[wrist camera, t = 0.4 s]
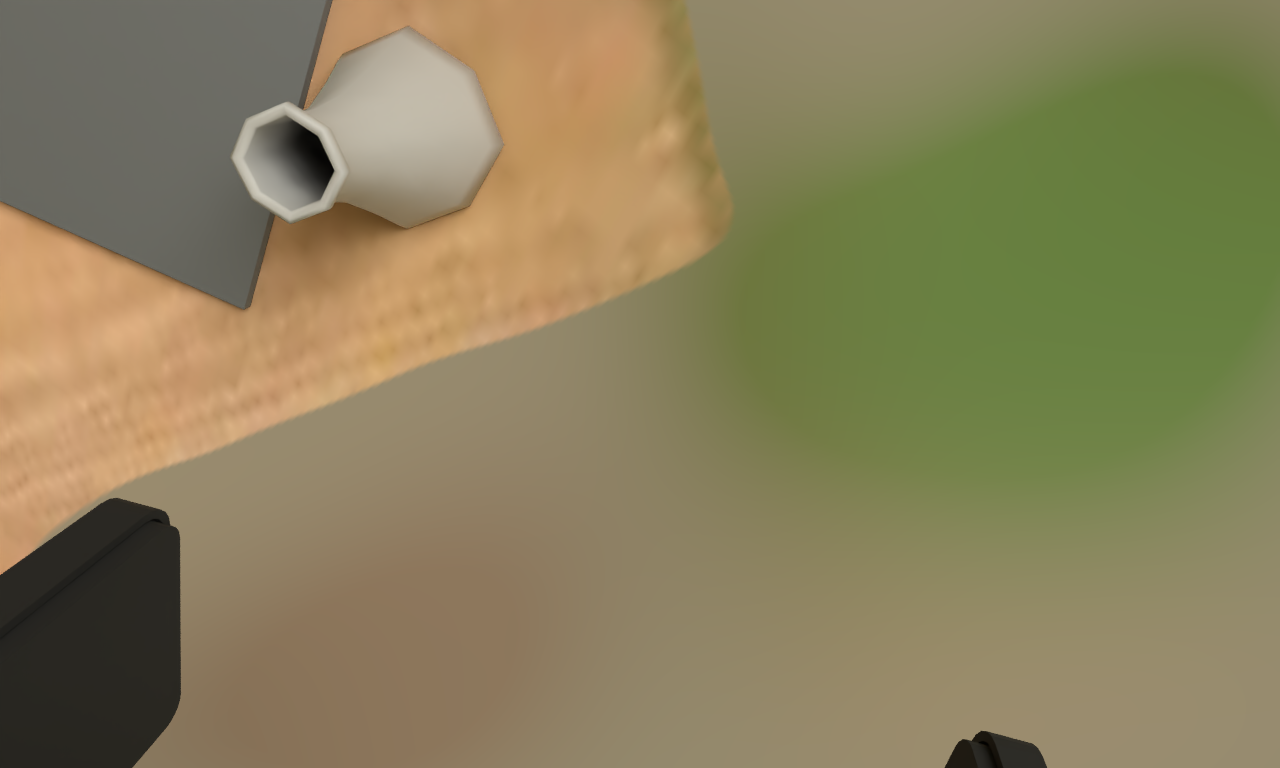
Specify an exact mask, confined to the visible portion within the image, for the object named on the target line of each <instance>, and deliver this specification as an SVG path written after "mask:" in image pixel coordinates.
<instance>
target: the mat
mask: <svg viewBox="0 0 1280 768" xmlns="http://www.w3.org/2000/svg"><path fill="white" fill-rule="evenodd" d="M331 3H332V0H0V201H1V202H4V203H6V204H8V205H10V206H13V207H15V208H17V209H19V210H22V211H24V212H26V213H28V214H30V215H33V216H35V217H37V218H39V219H42V220H44V221H46V222H48V223H51V224H53V225H55V226H57V227H60V228H62V229H64V230H66V231H69V232H71V233H73V234H75V235H78V236H80V237H82V238H84V239H87V240H89V241H91V242H93V243H96V244H98V245H100V246H102V247H105V248H107V249H109V250H111V251H113V252H116V253H118V254H120V255H122V256H125V257H127V258H129V259H131V260H134V261H136V262H138V263H140V264H143V265H145V266H147V267H149V268H152V269H154V270H156V271H158V272H161V273H163V274H165V275H167V276H170V277H172V278H174V279H176V280H179V281H181V282H183V283H185V284H188V285H190V286H192V287H194V288H196V289H199V290H201V291H203V292H205V293H208V294H210V295H212V296H214V297H217V298H219V299H221V300H223V301H226V302H228V303H230V304H232V305H235V306H237V307H239V308H241V309H246V308H248V307H250V305H251V301H252V298H253V294H254V290H255V286H256V283H257V279H258V275H259V272H260V268H261V264H262V260H263V257H264V253H265V249H266V245H267V242H268V238H269V234H270V231H271V227H272V223H273V219H274V216H275V214H273V213H272V212H270V211H269V210H267V209H266V208H264V207H262V206H261V205H259V204H258V203H256V202H254V201H253V200H251V198H250V196H249V194H248V192H247V190H246V188H245V186H244V184H243V182H242V180H241V178H240V177H239V175H238V173H237V171H236V169H235V167H234V165H233V163H232V161H231V159H230V155H231V153H232V150H233V148H234V146H235V143H236V141H237V139H238V136H239V134H240V132H241V129H242V127H243V124H244V122H245V120H246V118H249V117H251V116H253V115H256V114H258V113H261V112H263V111H265V110H268V109H270V108H273V107H275V106H277V105H280V104H282V103H285V102H290V103H293V104H294V105H296V106H297V107H299V108H300V109H302V110H303V108H304V104H305V100H306V96H307V93H308V89H309V85H310V81H311V78H312V74H313V70H314V67H315V63H316V59H317V55H318V52H319V48H320V44H321V40H322V37H323V33H324V29H325V26H326V22H327V18H328V14H329V11H330V7H331Z"/></svg>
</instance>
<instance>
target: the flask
mask: <svg viewBox="0 0 1280 768" xmlns="http://www.w3.org/2000/svg"><path fill="white" fill-rule="evenodd" d="M503 146H504V143H503V140H502V138H501V135H500V133H499V130H498V128H497V125H496V123H495V121H494V118H493V116H492V113H491V111H490V108H489V106H488V103H487V101H486V98H485V96H484V93H483V91H482V88H481V86H480V83H479V81H478V78H477V76H476V73H475V71H474V70H473V69H471V68H470V67H468V66H467V65H465V64H464V63H462V62H461V61H459V60H458V59H457V58H455V57H454V56H452V55H451V54H449V53H448V52H446V51H445V50H443V49H442V48H440V47H439V46H437V45H436V44H435V43H433V42H432V41H430V40H429V39H427V38H426V37H424V36H423V35H421V34H420V33H418V32H417V31H415V30H414V29H413V28H411V27H410V26H407V27H404V28H402V29H400V30H397V31H395V32H393V33H390V34H388V35H386V36H383V37H381V38H379V39H376V40H374V41H372V42H369V43H367V44H365V45H362V46H360V47H358V48H355V49H353V50H351V51H348V52H346V53H344V54H342V56H341V57H340V59H339V60H338V62H337V63H336V65H335V67H334V69H333V71H332V73H331V75H330V76H329V78H328V80H327V82H326V84H325V85H324V86H323V88H322V89H321V91H320V92H319V94H318V95H317V97H316V98H315V99H314V101H313V102H312V104H311V105H310V107H309V108H308V109H306V110H302V109H300V108H299V107H297V106H296V105H294V104H293V103H290V102H285V103H282V104H280V105H277V106H275V107H273V108H270V109H268V110H265V111H263V112H261V113H258V114H256V115H253V116H251V117H249V118H246V120H245V122H244V124H243V127H242V129H241V132H240V134H239V136H238V139H237V141H236V143H235V146H234V148H233V150H232V153H231V155H230V159H231V161H232V163H233V165H234V167H235V169H236V171H237V173H238V175H239V177H240V178H241V180H242V182H243V184H244V186H245V188H246V190H247V192H248V194H249V196H250V198H251V200H253V201H254V202H256V203H258V204H259V205H261V206H262V207H264V208H266V209H267V210H269V211H270V212H272V213H273V214H275V215H277V216H278V217H280V218H281V219H283V220H284V221H286V222H288V223H289V224H292V223H295V222H298V221H300V220H303V219H306V218H308V217H311V216H313V215H316V214H319V213H321V212H324V211H327V210H329V209H331V208H332V207H333V205H334V203H335V202H346V203H348V204H351V205H354V206H356V207H359V208H361V209H364V210H367V211H369V212H372V213H374V214H377V215H379V216H381V217H383V218H385V219H387V220H389V221H391V222H393V223H395V224H397V225H399V226H401V227H404V228H406V229H408V228H411V227H414V226H416V225H419V224H422V223H425V222H427V221H430V220H433V219H435V218H438V217H441V216H444V215H446V214H449V213H452V212H455V211H457V210H460V209H463V208H465V207H468V206H470V205H471V203H472V201H473V199H474V197H475V196H476V194H477V192H478V190H479V189H480V187H481V185H482V183H483V181H484V180H485V178H486V176H487V174H488V173H489V171H490V169H491V167H492V165H493V164H494V162H495V160H496V158H497V157H498V155H499V153H500V151H501V149H502V148H503Z"/></svg>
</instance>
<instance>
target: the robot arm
mask: <svg viewBox="0 0 1280 768" xmlns="http://www.w3.org/2000/svg"><path fill="white" fill-rule="evenodd" d="M180 661H181V657H180V535H179V531H178V529H177V528H176V527H173V526H170V521H169V517H168V515H167V514H166V512H164V511H162V510H160V509H156V508H153V507H149V506H145V505H141V504H138V503H134V502H130V501H127V500H123V499H119V498H113V499H109V500H107V501H105V502H103V503H101V504H100V505H98V506H97V507H96V508H94V509H93V510H91V511H90V512H88V513H87V514H86V515H84V516H83V517H82V518H80V519H79V520H77V521H76V522H74V523H73V524H72V525H70V526H69V527H68V528H66V529H64V530H63V531H62V532H60V533H59V534H57V535H56V536H55V537H53V538H52V539H51V540H49V541H48V542H46V543H45V544H43V545H42V546H41V547H39V548H38V549H36V550H35V551H33V552H32V553H31V554H29V555H28V556H26V557H25V558H24V559H22V560H21V561H19V562H18V563H17V564H15V565H14V566H12V567H11V568H10V569H8V570H7V571H5V572H4V573H3V574H1V575H0V768H132V767H133V766H134V765H135V764H136V763H137V761H138V760H139V759H140V758H141V757H142V756H143V754H144V753H145V752H146V751H147V750H148V749H149V747H150V746H151V745H152V744H153V743H154V742H155V740H156V739H157V738H158V737H159V736H160V734H161V733H162V732H163V731H164V730H165V729H166V727H167V726H168V725H169V723H170V722H171V720H172V718H173V716H174V715H175V712H176V710H177V708H178V704H179V701H180V695H181V670H180V669H181V662H180ZM945 768H1047V766H1046V764H1045V761H1044V759H1043V756H1042V754H1041V753H1040V751H1039V749H1038V748H1037V747H1036V746H1035V745H1034V744H1032V743H1028V742H1024V741H1021V740H1017V739H1013V738H1009V737H1006V736H1002V735H998V734H994V733H991V732H987V731H981V732H979V733H978V734H976V735H975V737H974V738H973V740H972V741H969V740H965V739H962V740H961V741H959V742H958V744H957V745H956V747H955V749H954V750H953V752H952V755H951V756H950V758H949V761H948V762H947V764H946V766H945Z"/></svg>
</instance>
